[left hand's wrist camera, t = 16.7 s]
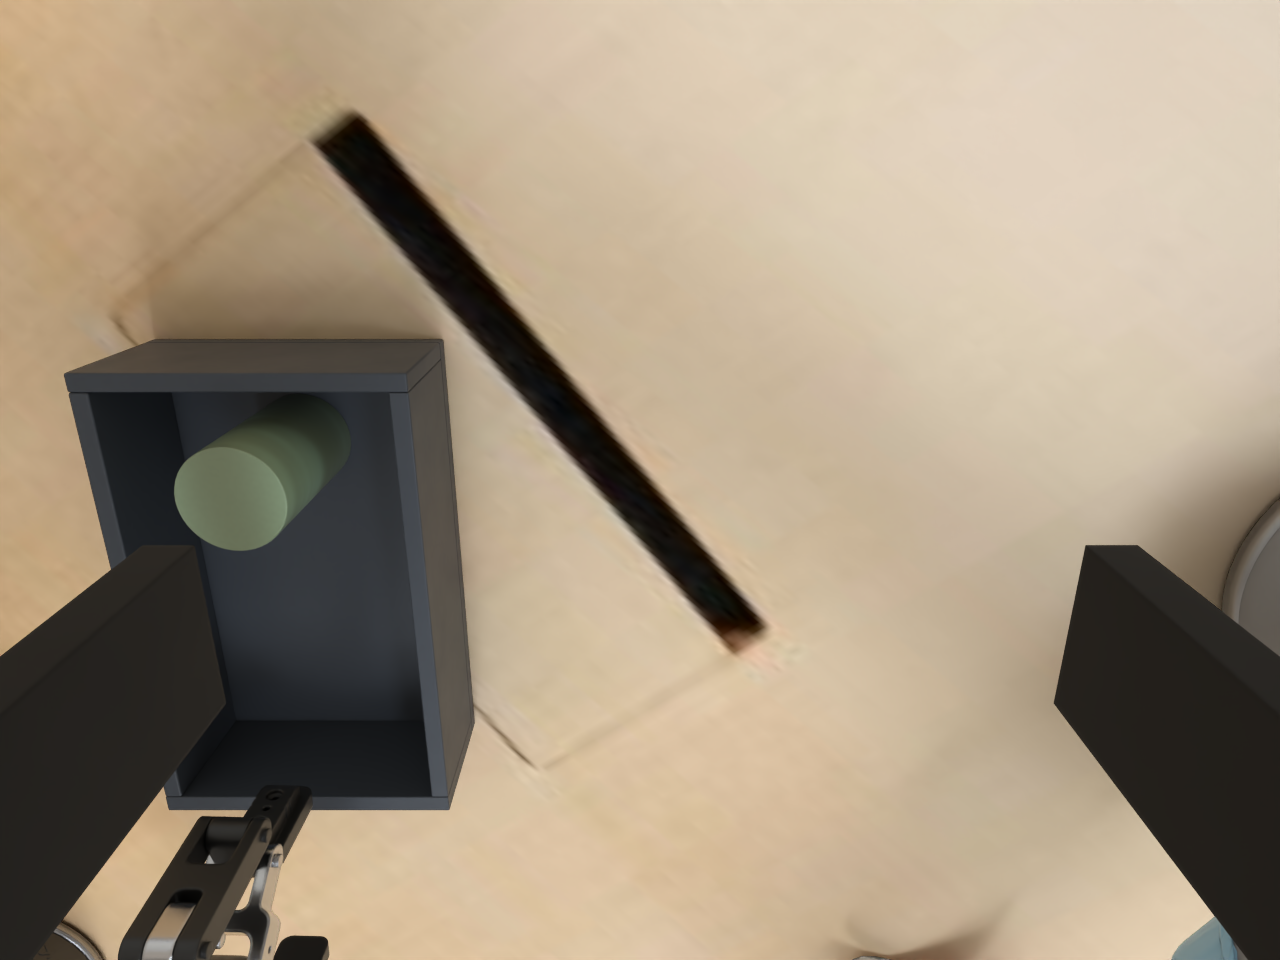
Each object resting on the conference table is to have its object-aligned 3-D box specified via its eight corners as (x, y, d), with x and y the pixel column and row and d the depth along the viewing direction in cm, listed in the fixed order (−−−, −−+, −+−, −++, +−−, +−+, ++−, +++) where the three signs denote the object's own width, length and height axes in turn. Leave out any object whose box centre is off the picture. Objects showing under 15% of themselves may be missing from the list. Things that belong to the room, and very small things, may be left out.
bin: (443, 338, 40) (406, 373, 34) (474, 723, 48) (449, 810, 41) (153, 338, 40) (62, 373, 34) (231, 723, 48) (168, 810, 42)
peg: (345, 393, 40) (277, 447, 33) (356, 480, 42) (294, 551, 34) (252, 393, 40) (163, 447, 33) (266, 481, 42) (185, 551, 34)
